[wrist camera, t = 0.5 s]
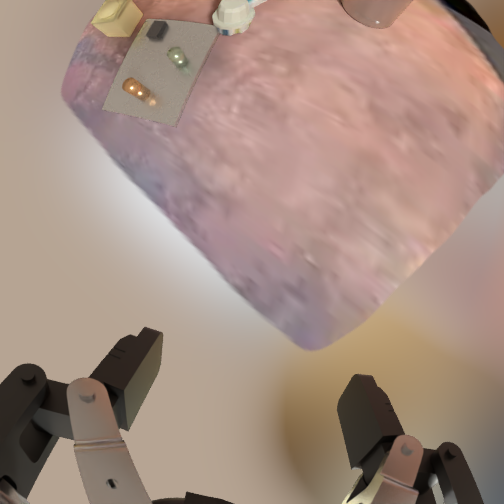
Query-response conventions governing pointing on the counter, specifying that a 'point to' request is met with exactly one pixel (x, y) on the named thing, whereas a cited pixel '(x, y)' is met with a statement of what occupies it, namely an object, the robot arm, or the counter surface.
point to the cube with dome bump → (117, 18)
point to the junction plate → (161, 70)
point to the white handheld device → (234, 15)
